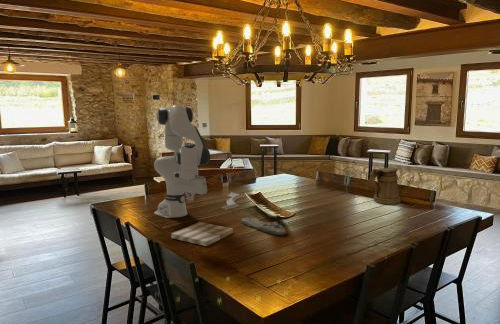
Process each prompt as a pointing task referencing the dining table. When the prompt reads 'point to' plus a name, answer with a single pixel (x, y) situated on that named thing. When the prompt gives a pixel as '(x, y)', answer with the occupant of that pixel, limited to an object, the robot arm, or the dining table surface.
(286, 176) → the dining table surface
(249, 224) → the long grey stone
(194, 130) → the robot arm
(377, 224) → the dining table surface
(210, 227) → the oak board
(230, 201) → the molding
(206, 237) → the birch plank
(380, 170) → the tankard
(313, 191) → the dining table surface
